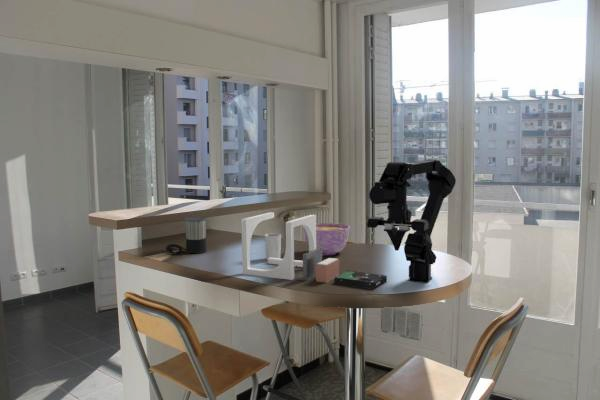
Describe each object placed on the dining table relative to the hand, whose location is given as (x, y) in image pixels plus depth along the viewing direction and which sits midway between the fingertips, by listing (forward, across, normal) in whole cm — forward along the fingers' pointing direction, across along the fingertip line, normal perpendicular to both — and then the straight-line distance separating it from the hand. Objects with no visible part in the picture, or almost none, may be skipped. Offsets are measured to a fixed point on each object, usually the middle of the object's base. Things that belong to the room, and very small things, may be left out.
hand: (397, 250), depth 163 cm
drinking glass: (+12, +58, -18) cm, 61 cm away
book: (+12, +24, 0) cm, 27 cm away
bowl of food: (+12, +42, -37) cm, 58 cm away
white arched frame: (+12, +45, -3) cm, 47 cm away
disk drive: (+13, +12, 0) cm, 18 cm away
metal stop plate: (+12, +31, 0) cm, 33 cm away
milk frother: (+12, +98, -13) cm, 100 cm away
